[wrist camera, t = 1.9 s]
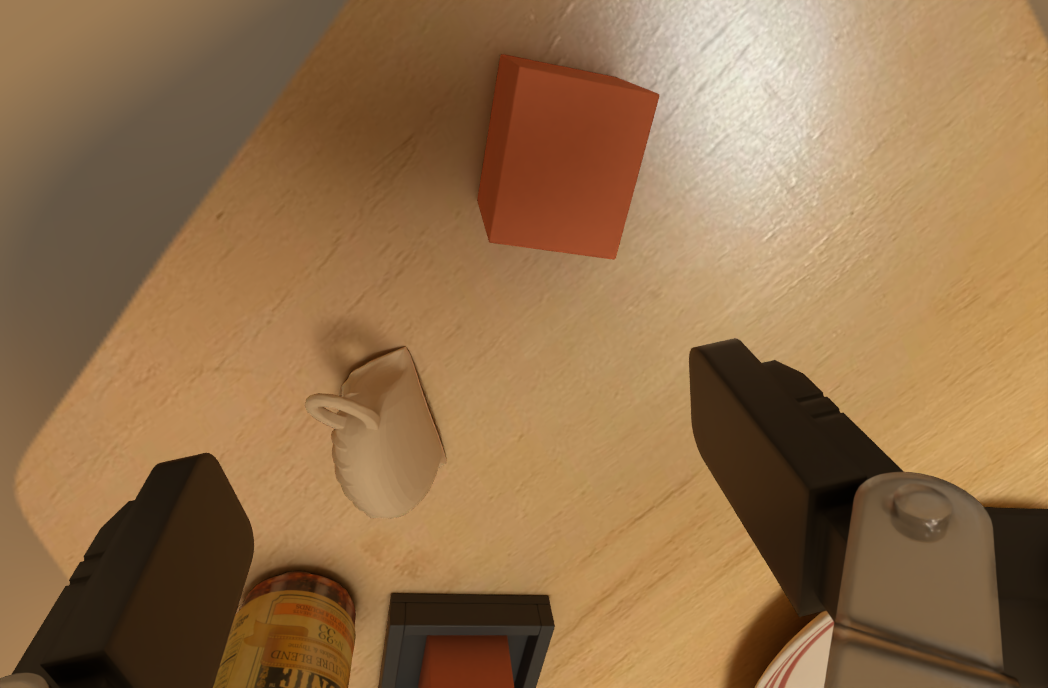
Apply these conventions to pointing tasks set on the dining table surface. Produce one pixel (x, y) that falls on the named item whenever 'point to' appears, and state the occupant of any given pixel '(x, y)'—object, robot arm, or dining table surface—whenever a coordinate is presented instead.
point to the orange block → (562, 157)
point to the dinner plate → (802, 658)
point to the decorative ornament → (382, 436)
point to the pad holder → (465, 631)
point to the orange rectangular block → (466, 662)
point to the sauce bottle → (291, 635)
